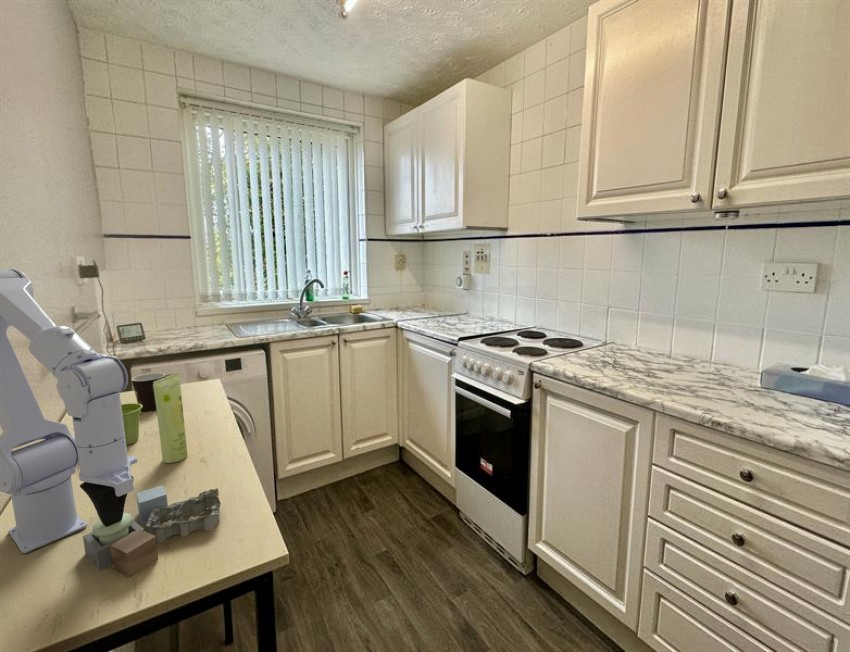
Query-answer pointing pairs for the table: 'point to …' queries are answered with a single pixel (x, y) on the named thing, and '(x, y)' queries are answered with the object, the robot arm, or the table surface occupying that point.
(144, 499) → the slate-blue block
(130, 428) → the plant pot
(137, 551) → the walnut block
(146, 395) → the coffee mug
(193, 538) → the table surface
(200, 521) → the egg carton
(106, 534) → the green button
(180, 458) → the tube
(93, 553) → the button housing
